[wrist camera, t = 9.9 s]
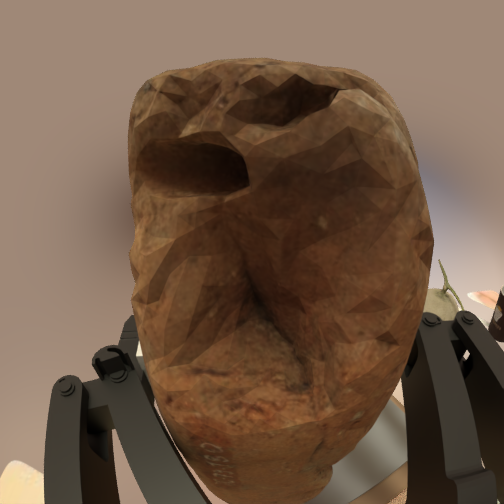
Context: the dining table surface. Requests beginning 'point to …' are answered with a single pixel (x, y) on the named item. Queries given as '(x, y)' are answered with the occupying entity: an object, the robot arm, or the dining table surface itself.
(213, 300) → the block
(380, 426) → the tower base
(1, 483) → the dining table surface
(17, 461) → the dining table surface
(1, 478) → the dining table surface
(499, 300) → the coffee mug
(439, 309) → the fruit
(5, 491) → the dining table surface
